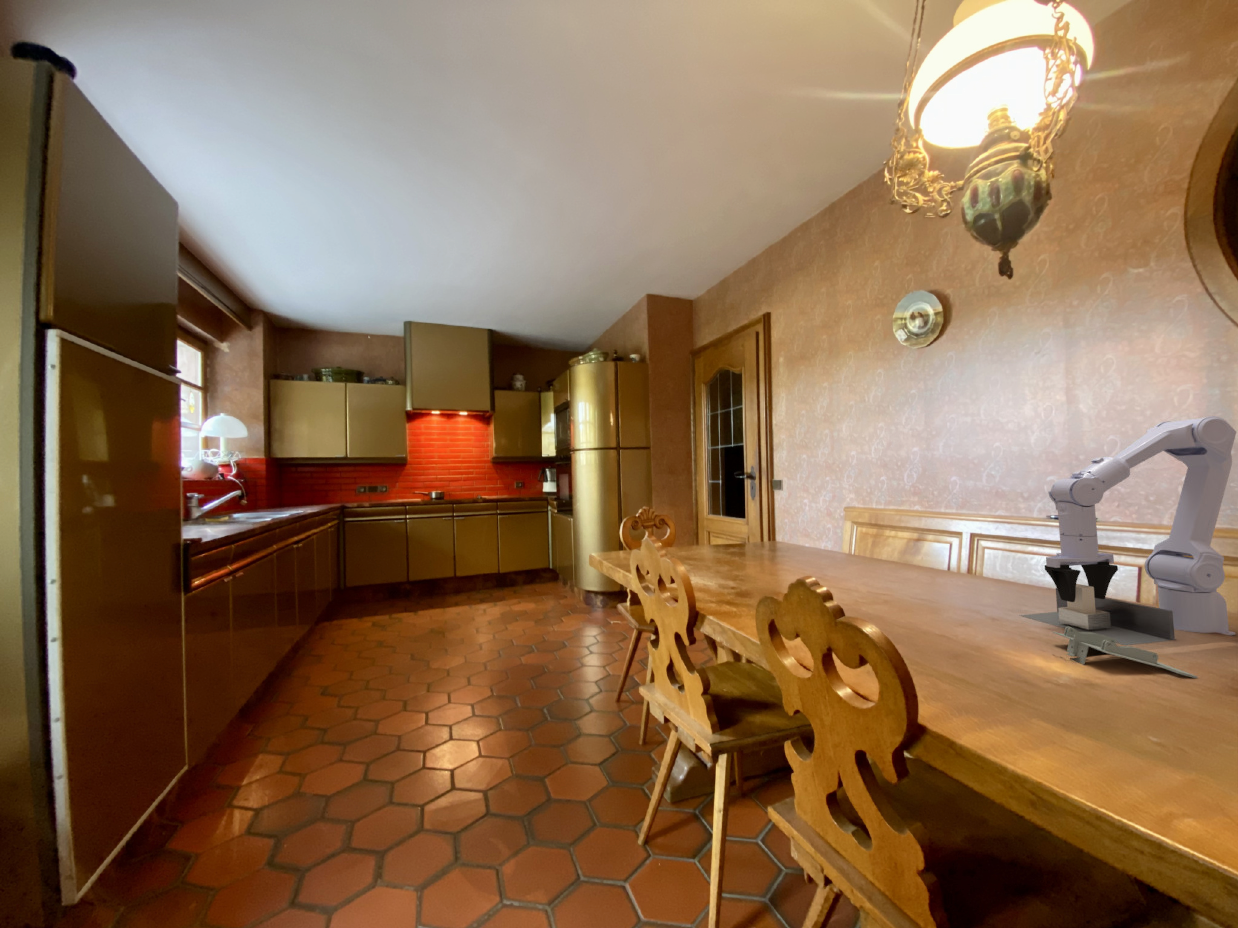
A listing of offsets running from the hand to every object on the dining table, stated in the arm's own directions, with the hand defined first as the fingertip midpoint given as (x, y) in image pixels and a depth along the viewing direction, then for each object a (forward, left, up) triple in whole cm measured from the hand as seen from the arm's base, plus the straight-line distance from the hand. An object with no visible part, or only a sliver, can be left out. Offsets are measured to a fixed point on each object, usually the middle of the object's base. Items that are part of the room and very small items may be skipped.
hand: (1083, 599), depth 98 cm
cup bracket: (-2, 0, -6) cm, 6 cm away
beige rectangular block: (0, 0, -5) cm, 5 cm away
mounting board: (-1, 0, -7) cm, 7 cm away
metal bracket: (+12, +13, -7) cm, 19 cm away
